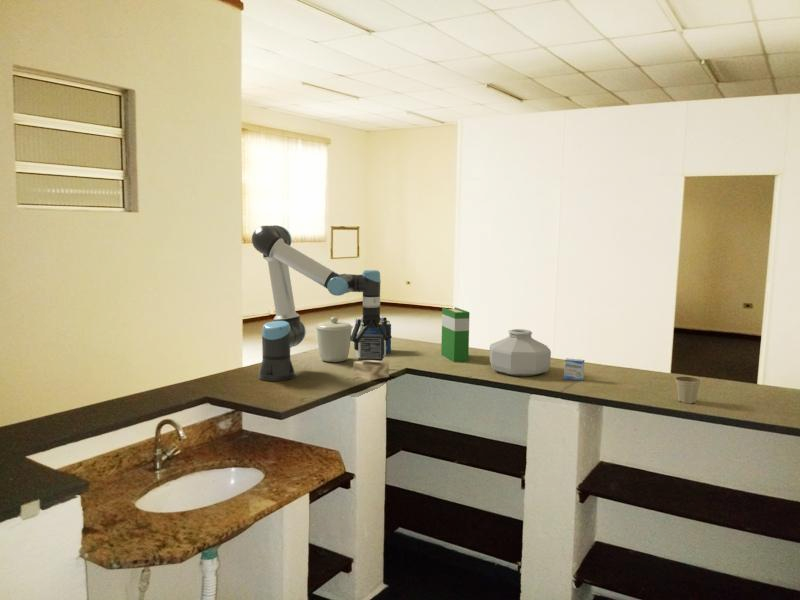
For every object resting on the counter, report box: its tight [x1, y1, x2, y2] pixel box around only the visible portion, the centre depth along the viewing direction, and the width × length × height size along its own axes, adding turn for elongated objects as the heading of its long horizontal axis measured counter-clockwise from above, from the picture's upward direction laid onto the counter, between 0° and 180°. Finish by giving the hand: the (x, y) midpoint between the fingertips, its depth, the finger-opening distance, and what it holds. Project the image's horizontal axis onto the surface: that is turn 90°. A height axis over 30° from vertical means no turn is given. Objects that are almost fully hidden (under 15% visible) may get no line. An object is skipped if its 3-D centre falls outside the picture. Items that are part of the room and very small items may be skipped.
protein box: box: [359, 320, 392, 355], centre depth 334 cm, size 10×15×16 cm
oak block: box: [353, 360, 390, 381], centre depth 282 cm, size 10×12×6 cm
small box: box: [357, 334, 385, 362], centre depth 281 cm, size 11×6×10 cm, turn 84°
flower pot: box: [674, 375, 702, 404], centre depth 246 cm, size 9×9×9 cm
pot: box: [489, 328, 552, 377], centre depth 294 cm, size 28×28×19 cm
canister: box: [314, 316, 354, 363], centre depth 312 cm, size 18×18×21 cm
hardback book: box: [440, 306, 471, 363], centre depth 320 cm, size 18×7×24 cm, turn 17°
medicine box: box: [563, 358, 585, 382], centre depth 280 cm, size 8×4×9 cm, turn 68°
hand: (370, 356), depth 281 cm, fingers closed on small box, 12 cm apart
